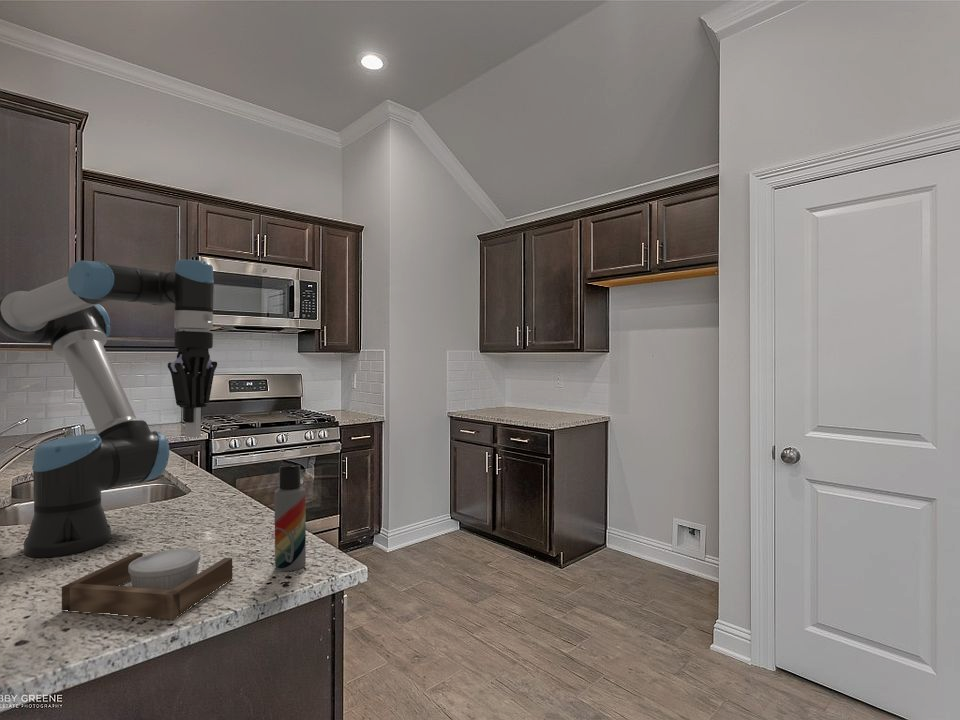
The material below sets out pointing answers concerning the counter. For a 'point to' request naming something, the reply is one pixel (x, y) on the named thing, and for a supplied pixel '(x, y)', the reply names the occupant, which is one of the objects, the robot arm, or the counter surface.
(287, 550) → the lotion bottle
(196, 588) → the walnut box
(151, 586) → the ramekin
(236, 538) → the counter surface
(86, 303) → the robot arm
